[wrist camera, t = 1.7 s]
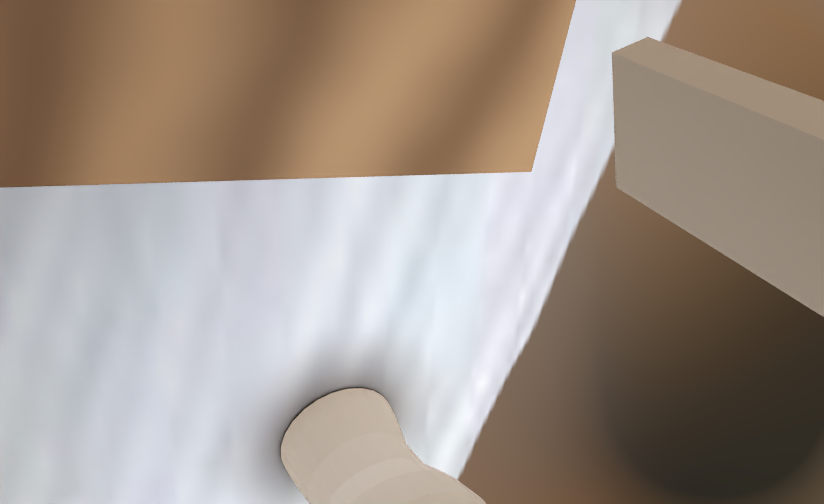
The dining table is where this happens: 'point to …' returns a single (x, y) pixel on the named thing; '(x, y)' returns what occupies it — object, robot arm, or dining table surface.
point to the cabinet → (272, 88)
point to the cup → (361, 456)
